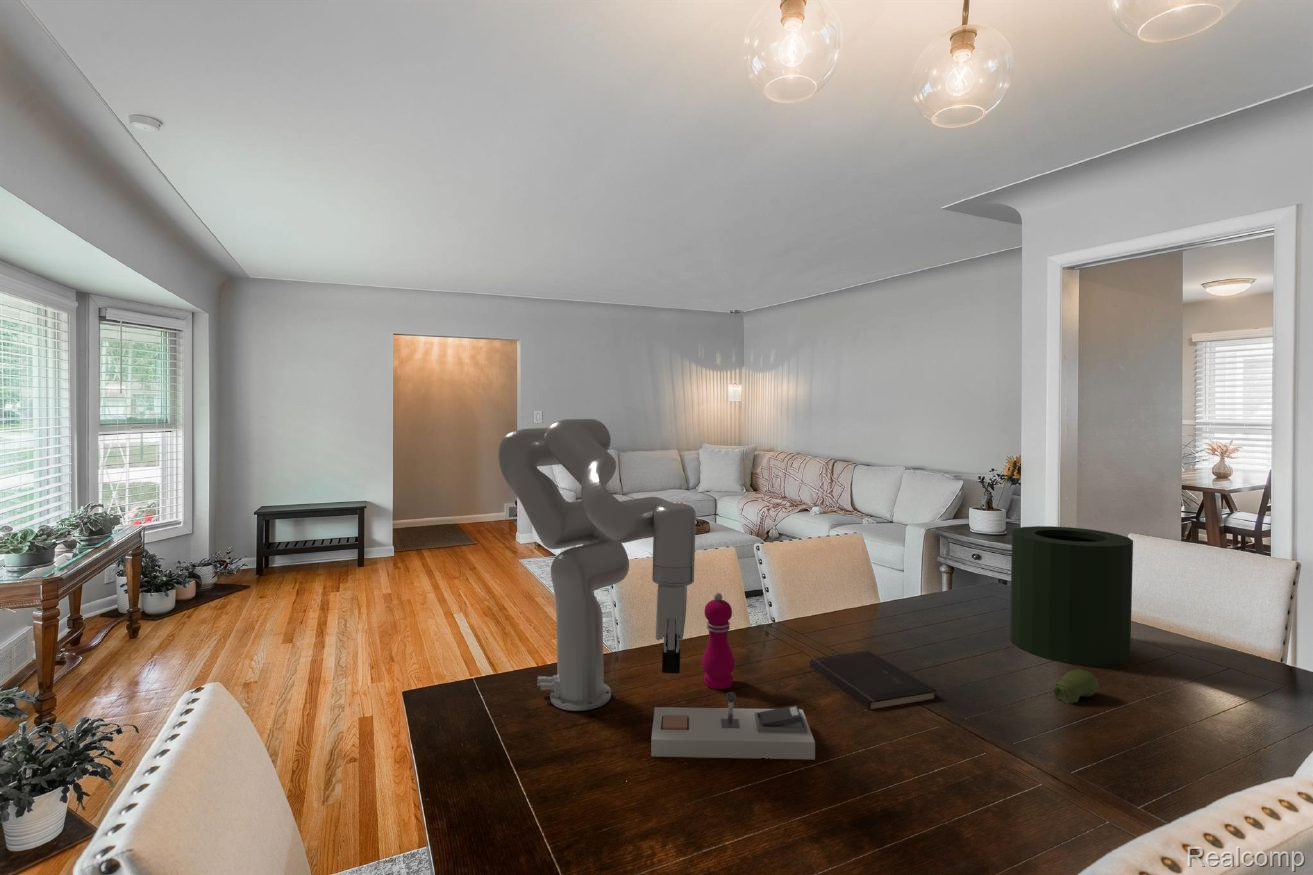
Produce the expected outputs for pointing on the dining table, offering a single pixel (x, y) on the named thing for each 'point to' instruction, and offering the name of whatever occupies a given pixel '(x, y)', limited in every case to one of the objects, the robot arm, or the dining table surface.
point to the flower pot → (1072, 595)
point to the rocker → (780, 716)
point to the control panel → (730, 735)
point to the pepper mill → (718, 645)
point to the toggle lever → (730, 705)
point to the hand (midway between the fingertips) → (670, 671)
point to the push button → (674, 722)
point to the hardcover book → (872, 679)
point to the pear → (1076, 686)
